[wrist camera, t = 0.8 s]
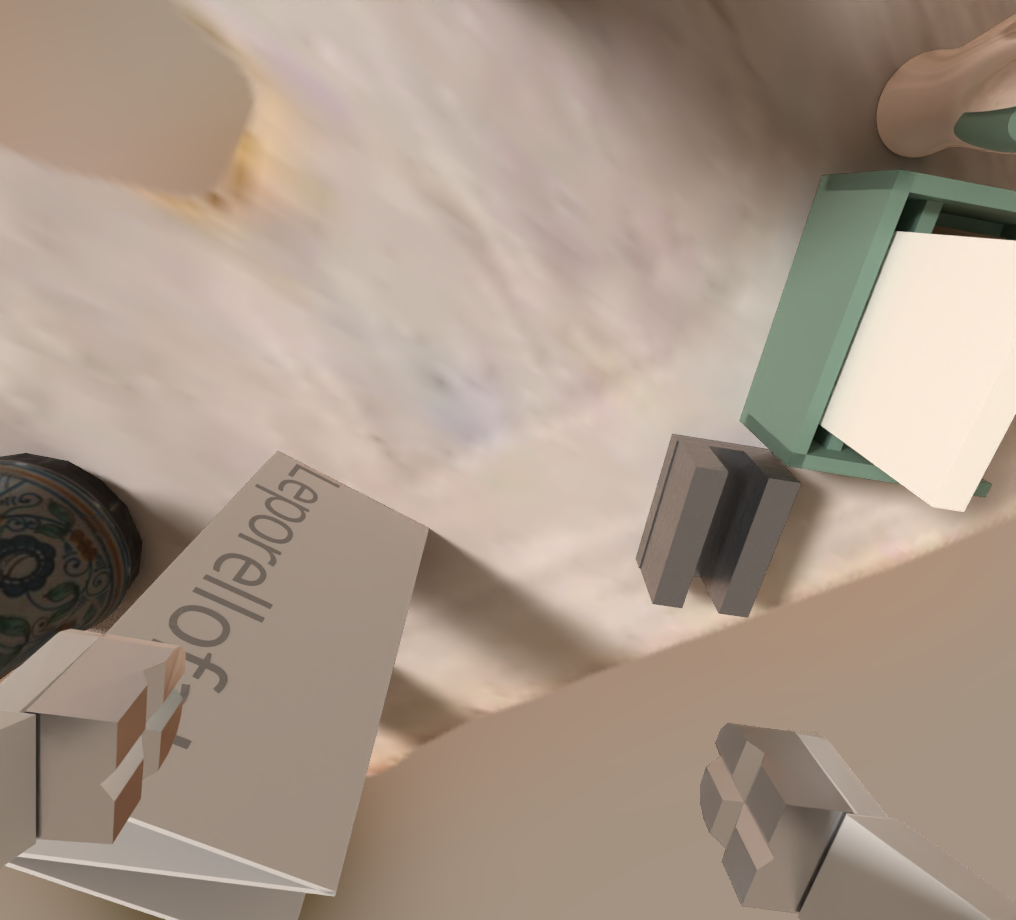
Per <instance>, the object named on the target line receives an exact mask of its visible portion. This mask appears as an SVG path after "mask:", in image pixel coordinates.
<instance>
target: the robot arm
mask: <svg viewBox="0 0 1016 920" xmlns="http://www.w3.org/2000/svg"><path fill="white" fill-rule="evenodd" d="M185 657H186V652H185V650H184V649H183V647H182V646H179V645H172V644H166V643H160V642H154V641H148V640H141V639H135V638H129V637H123V636H117V635H111V634H108V635H106V634H103V633H96V632H89V631H82V630H76V629H68V630H64V631H60V632H59V633H57V634H56V635H55V636H54V637H53V638H52V639H50V640H49V641H48V642H47V643H46V644H45V645H44V646H42V647H41V648H40V649H39V650H38V651H37V652H36V653H34V654H33V655H32V656H31V657H30V658H29V659H28V660H26V661H25V662H24V663H23V664H22V665H21V666H20V667H18V668H17V669H16V670H15V671H14V672H13V673H12V674H10V675H9V676H8V677H7V678H6V679H5V680H4V681H2V682H1V683H0V868H1V867H3V866H4V865H6V864H7V863H9V862H10V861H11V860H13V859H14V858H16V857H17V856H19V855H20V854H22V853H23V852H24V851H26V850H27V849H29V848H30V847H32V846H33V845H34V844H36V839H42V840H56V841H71V842H86V843H100V844H113V843H114V841H115V840H116V838H117V836H118V835H119V833H120V832H121V830H122V828H123V827H124V825H125V824H126V822H127V820H128V819H129V817H130V816H131V814H132V812H133V811H134V809H135V808H136V806H137V804H138V803H139V801H140V800H141V792H142V780H143V779H145V778H147V777H149V776H150V775H152V774H154V773H155V772H157V771H158V770H159V769H160V767H161V765H162V764H163V762H164V760H165V759H166V757H167V755H168V754H169V751H170V749H171V746H172V744H173V741H174V739H175V736H176V734H177V731H178V727H179V722H180V718H181V713H182V702H183V698H182V697H181V695H180V694H179V693H178V691H177V690H176V688H175V686H176V684H177V683H178V681H179V680H180V678H181V677H182V676H183V674H184V673H185ZM715 744H716V747H717V749H718V752H719V754H720V756H719V757H718V758H717V759H715V760H714V761H713V762H711V763H710V764H709V765H708V766H707V767H706V769H705V772H704V775H703V778H702V781H701V787H700V805H701V809H702V814H703V819H704V821H705V823H706V826H707V828H708V831H709V833H710V834H711V835H712V836H713V837H714V838H715V839H716V840H717V841H718V842H720V844H721V845H722V846H723V847H724V848H725V852H724V856H723V859H722V863H723V865H724V867H725V870H726V872H727V874H728V876H729V879H730V881H731V883H732V885H733V888H734V890H735V892H736V894H737V897H738V899H739V901H740V903H741V906H743V907H751V908H759V909H767V910H774V911H781V912H790V913H797V914H799V915H798V918H799V919H800V920H1016V901H1014V900H1013V899H1012V898H1010V897H1009V896H1007V895H1006V894H1004V893H1003V892H1002V891H1000V890H999V889H997V888H996V887H994V886H993V885H991V884H990V883H989V882H987V881H986V880H984V879H983V878H982V877H980V876H979V875H977V874H976V873H974V872H973V871H972V870H970V869H969V868H967V867H966V866H964V865H963V864H961V863H960V862H958V861H957V860H956V859H954V858H953V857H951V856H950V855H949V854H947V853H946V852H944V851H943V850H941V849H940V848H939V847H937V846H936V845H934V844H933V843H931V842H930V841H928V840H927V839H926V838H924V837H923V836H921V835H920V834H918V833H917V832H916V831H914V830H913V829H911V828H910V827H908V826H907V825H906V824H904V823H903V822H901V821H900V820H896V819H889V818H888V816H887V815H886V814H885V812H884V811H883V810H882V809H881V807H880V806H879V805H878V803H877V802H876V801H875V800H874V798H873V797H872V796H871V794H870V793H869V792H868V791H867V790H866V788H865V787H864V786H863V784H862V783H861V782H860V781H859V779H858V778H857V777H856V775H855V774H854V773H853V772H852V770H851V769H850V768H849V766H848V765H847V764H846V763H845V761H844V760H843V759H842V758H841V756H840V755H839V754H838V752H837V751H836V750H835V749H834V747H833V746H832V745H831V744H830V742H829V741H828V740H827V739H826V738H824V737H823V736H821V735H820V734H818V733H814V732H805V731H796V730H786V731H785V730H778V729H771V728H762V727H756V726H748V725H740V724H733V723H727V724H726V725H725V726H724V727H723V728H722V729H721V731H720V732H719V735H718V737H717V740H716V742H715Z"/></svg>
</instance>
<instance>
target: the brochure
mask: <svg viewBox="0 0 1016 920" xmlns="http://www.w3.org/2000/svg"><path fill="white" fill-rule="evenodd" d="M428 531H429V528H427V527H426V526H424V525H422V524H420V523H418V522H416V521H414V520H412V519H410V518H408V517H406V516H404V515H402V514H400V513H398V512H396V511H394V510H392V509H390V508H388V507H386V506H384V505H382V504H381V503H379V502H377V501H375V500H373V499H371V498H369V497H367V496H365V495H363V494H361V493H359V492H357V491H355V490H353V489H351V488H349V487H347V486H345V485H343V484H341V483H339V482H337V481H335V480H334V479H332V478H330V477H328V476H326V475H324V474H322V473H320V472H318V471H316V470H314V469H312V468H310V467H308V466H306V465H304V464H302V463H300V462H298V461H296V460H294V459H292V458H290V457H289V456H287V455H285V454H283V453H281V452H279V451H277V452H276V453H275V454H274V455H273V456H272V457H271V458H270V459H269V460H268V461H267V462H266V463H265V464H264V466H263V467H262V468H261V469H260V470H259V471H258V472H257V473H256V474H255V475H254V476H253V477H252V478H251V479H250V480H249V481H248V483H247V484H246V485H245V486H244V487H243V488H242V489H241V490H240V491H239V492H238V493H237V494H236V495H235V496H234V497H233V498H232V500H231V501H230V502H229V503H228V504H227V505H226V506H225V507H224V508H223V509H222V510H221V511H220V512H219V513H218V514H217V515H216V517H215V518H214V519H213V520H212V521H211V522H210V523H209V524H208V525H207V526H206V527H205V528H204V529H203V530H202V531H201V532H200V534H199V535H198V536H197V537H196V538H195V539H194V540H193V541H192V542H191V543H190V544H189V545H188V546H187V547H186V548H185V549H184V551H183V552H182V553H181V554H180V555H179V556H178V557H177V558H176V559H175V560H174V561H173V562H172V563H171V564H170V565H169V566H168V568H167V569H166V570H165V571H164V572H163V573H162V574H161V575H160V576H159V577H158V578H157V579H156V580H155V581H154V582H153V583H152V585H151V586H150V587H149V588H148V589H147V590H146V591H145V592H144V593H143V594H142V595H141V596H140V597H139V598H138V599H137V600H136V602H135V603H134V604H133V605H132V606H131V607H130V608H129V609H128V610H127V611H126V612H125V613H124V614H123V615H122V616H121V617H120V619H119V620H118V621H117V622H116V623H115V624H114V625H113V626H112V627H111V628H110V629H109V630H108V631H107V632H106V633H105V634H106V635H108V634H111V635H117V636H123V637H129V638H135V639H141V640H148V641H154V642H160V643H166V644H172V645H179V646H182V647H183V649H184V650H185V652H186V657H185V673H184V674H183V676H182V677H181V678H180V680H179V681H178V683H177V684H176V686H175V688H176V690H177V691H178V693H179V694H180V695H181V697H182V698H183V702H182V713H181V718H180V722H179V727H178V731H177V734H176V736H175V739H174V741H173V744H172V746H171V749H170V751H169V754H168V755H167V757H166V759H165V760H164V762H163V764H162V765H161V767H160V769H159V770H158V771H157V772H155V773H154V774H152V775H150V776H149V777H147V778H145V779H143V780H142V792H141V800H140V801H139V803H138V804H137V806H136V808H135V809H134V811H133V812H132V814H131V816H130V817H129V819H128V820H127V822H126V824H125V825H124V827H123V828H122V830H121V832H120V833H119V835H118V836H117V838H116V840H115V841H114V843H113V844H100V843H86V842H71V841H56V840H42V839H36V844H34V845H33V846H32V847H30V848H29V849H27V850H26V851H24V852H23V853H22V854H20V855H19V856H17V857H16V858H14V859H13V860H11V861H10V862H9V863H7V864H6V865H4V866H7V867H10V868H14V869H16V870H19V871H22V872H26V873H28V874H32V875H35V876H37V877H40V878H43V879H46V880H49V881H52V882H55V883H58V884H61V885H64V886H67V887H70V888H73V889H76V890H79V891H82V892H85V893H88V894H91V895H94V896H97V897H100V898H103V899H106V900H109V901H112V902H115V903H118V904H121V905H124V906H127V907H130V908H133V909H136V910H139V911H142V912H145V913H148V914H151V915H154V916H157V917H160V918H163V919H166V920H298V917H299V914H300V911H301V907H302V904H303V901H304V897H305V894H306V893H312V894H320V895H328V896H335V894H336V890H337V886H338V882H339V879H340V874H341V871H342V867H343V863H344V859H345V855H346V851H347V847H348V843H349V839H350V835H351V832H352V828H353V823H354V820H355V816H356V812H357V808H358V804H359V800H360V797H361V793H362V789H363V785H364V781H365V777H366V773H367V769H368V765H369V761H370V757H371V754H372V750H373V746H374V742H375V738H376V734H377V730H378V726H379V722H380V718H381V714H382V711H383V707H384V703H385V699H386V695H387V691H388V687H389V683H390V679H391V675H392V672H393V668H394V664H395V660H396V656H397V652H398V648H399V644H400V640H401V636H402V632H403V629H404V625H405V621H406V617H407V613H408V609H409V605H410V601H411V597H412V593H413V590H414V586H415V582H416V578H417V574H418V570H419V566H420V562H421V558H422V554H423V550H424V547H425V543H426V539H427V535H428Z"/></svg>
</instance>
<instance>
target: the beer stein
mask: <svg viewBox="0 0 1016 920" xmlns="http://www.w3.org/2000/svg"><path fill="white" fill-rule="evenodd" d="M141 548H142V540H141V537H140V535H139V533H138V531H137V528H136V526H135V524H134V522H133V519H132V517H131V515H130V513H129V510H128V508H127V506H126V505H125V504H124V503H123V502H122V501H121V500H120V499H119V498H118V497H117V496H116V495H115V494H114V493H113V492H112V491H111V490H110V489H109V488H108V487H107V486H106V485H105V484H104V482H103V481H101V480H99V479H98V478H96V477H94V476H92V475H91V474H89V473H87V472H86V471H84V470H82V469H81V468H79V467H77V466H75V465H74V464H72V463H70V462H69V461H65V460H59V459H54V458H49V457H44V456H38V455H33V454H28V453H23V454H16V455H10V456H3V457H0V679H1V678H3V677H4V676H6V675H7V674H8V673H10V672H11V671H13V670H14V669H16V668H17V667H19V666H20V665H22V664H23V663H24V662H25V661H26V660H28V659H29V658H30V657H31V656H32V655H33V654H34V653H36V652H37V651H38V650H39V649H40V648H41V647H42V646H44V645H45V644H46V643H47V642H48V641H49V640H50V639H52V638H53V637H54V636H55V635H56V634H57V633H59V632H60V631H64V630H68V629H76V630H82V631H85V630H88V629H90V628H92V627H93V626H95V625H97V624H98V623H100V622H102V621H103V620H104V619H106V618H107V617H108V616H109V615H110V614H111V613H112V612H113V611H114V610H116V608H117V607H118V606H119V604H120V603H121V601H122V599H123V597H124V595H125V593H126V591H127V589H128V588H129V586H130V585H131V583H132V582H133V581H134V579H135V578H136V577H137V575H138V574H139V565H140V556H141Z"/></svg>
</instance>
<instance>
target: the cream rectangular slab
mask: <svg viewBox="0 0 1016 920" xmlns="http://www.w3.org/2000/svg"><path fill="white" fill-rule="evenodd" d="M1015 414H1016V241H1014V240H1002V239H989V238H977V237H964V236H952V235H939V234H927V233H914V232H902V231H894V233H893V235H892V238H891V241H890V243H889V246H888V248H887V251H886V253H885V256H884V258H883V261H882V263H881V266H880V269H879V271H878V274H877V276H876V279H875V281H874V284H873V286H872V289H871V291H870V294H869V297H868V299H867V302H866V304H865V307H864V309H863V312H862V314H861V317H860V319H859V322H858V325H857V327H856V330H855V332H854V335H853V337H852V340H851V342H850V345H849V347H848V350H847V353H846V355H845V358H844V360H843V363H842V365H841V368H840V370H839V373H838V375H837V378H836V381H835V383H834V386H833V388H832V391H831V393H830V396H829V398H828V401H827V403H826V406H825V409H824V411H823V414H822V416H821V419H820V421H819V425H821V426H822V427H823V428H825V429H826V430H828V431H829V432H830V433H832V434H833V435H834V436H836V437H837V438H839V439H840V440H841V441H843V442H844V443H845V444H847V445H848V446H849V447H851V448H852V449H854V450H855V451H856V452H858V453H859V454H860V455H862V456H863V457H864V458H866V459H867V460H869V461H870V462H871V463H873V464H874V465H875V466H877V467H878V468H880V469H881V470H882V471H884V472H885V473H886V474H888V475H889V476H890V477H892V478H893V479H895V480H896V481H897V482H899V483H900V484H901V485H903V486H904V487H906V488H907V489H908V490H910V491H911V492H912V493H914V494H915V495H916V496H918V497H919V498H921V499H922V500H923V501H925V502H926V503H927V504H929V505H930V506H931V507H935V508H941V509H947V510H954V511H960V512H964V511H965V509H966V507H967V505H968V503H969V502H970V500H971V498H972V496H973V494H974V492H975V490H976V488H977V486H978V484H979V483H980V481H981V479H982V477H983V475H984V473H985V471H986V469H987V467H988V465H989V464H990V462H991V460H992V458H993V456H994V454H995V452H996V450H997V448H998V447H999V445H1000V443H1001V441H1002V439H1003V437H1004V435H1005V433H1006V431H1007V429H1008V428H1009V426H1010V424H1011V422H1012V420H1013V418H1014V416H1015Z"/></svg>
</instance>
